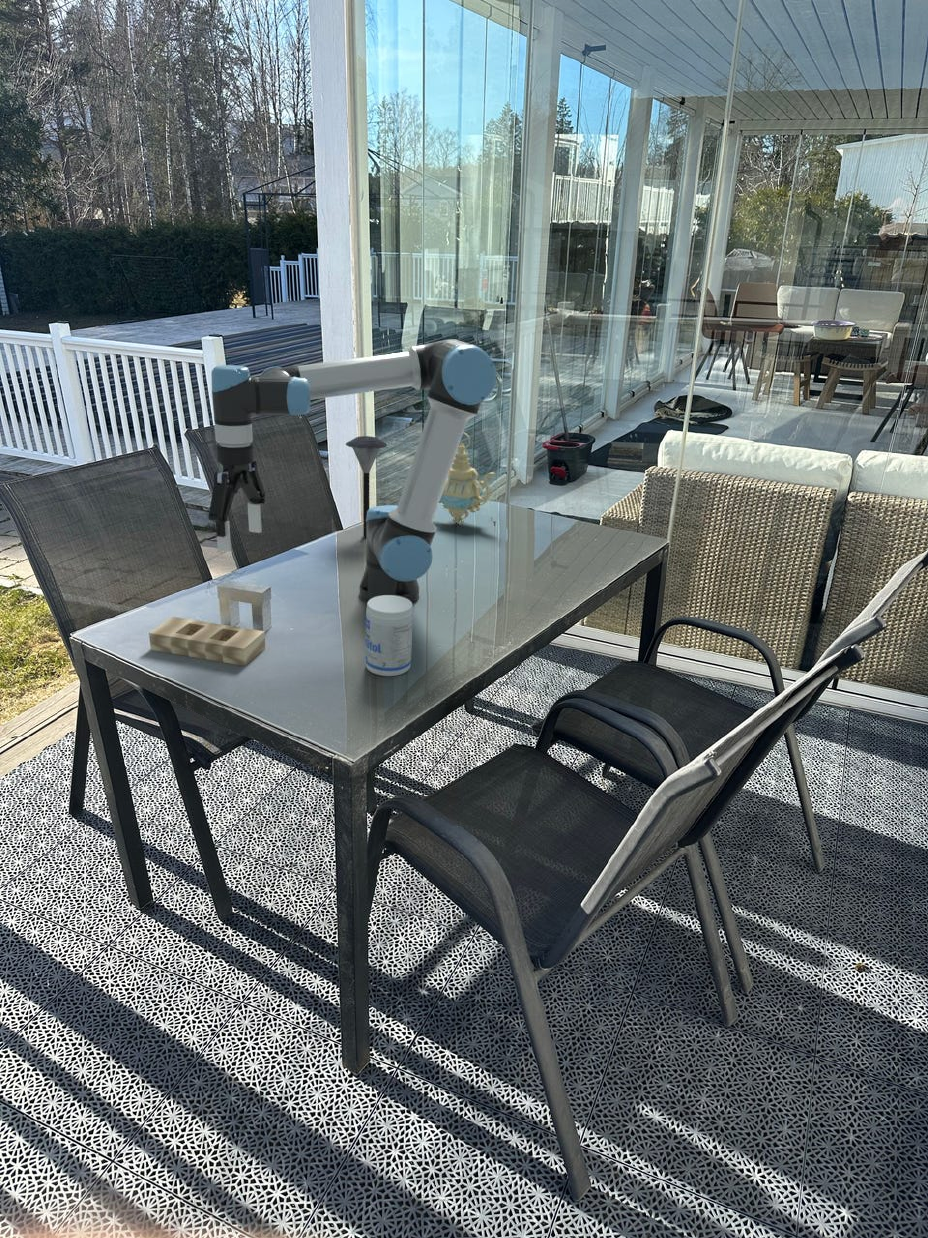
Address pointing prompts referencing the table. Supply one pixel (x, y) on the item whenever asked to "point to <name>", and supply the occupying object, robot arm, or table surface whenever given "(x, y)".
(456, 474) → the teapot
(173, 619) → the wooden block with holes
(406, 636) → the supplement tub
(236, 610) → the grey u-shaped block
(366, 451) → the solar garden light
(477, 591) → the table surface
